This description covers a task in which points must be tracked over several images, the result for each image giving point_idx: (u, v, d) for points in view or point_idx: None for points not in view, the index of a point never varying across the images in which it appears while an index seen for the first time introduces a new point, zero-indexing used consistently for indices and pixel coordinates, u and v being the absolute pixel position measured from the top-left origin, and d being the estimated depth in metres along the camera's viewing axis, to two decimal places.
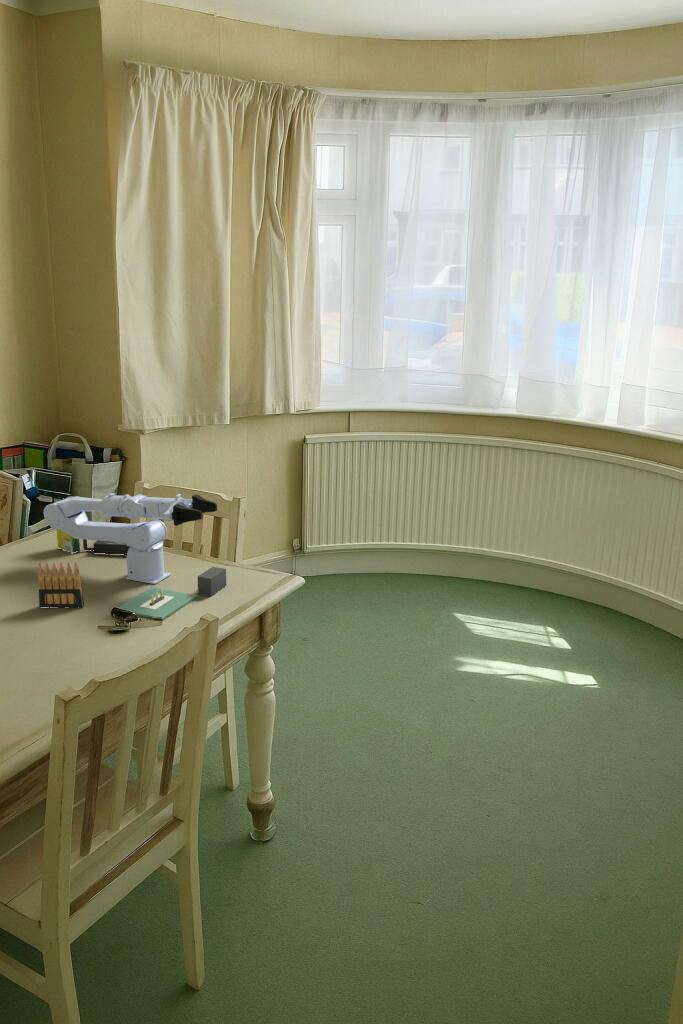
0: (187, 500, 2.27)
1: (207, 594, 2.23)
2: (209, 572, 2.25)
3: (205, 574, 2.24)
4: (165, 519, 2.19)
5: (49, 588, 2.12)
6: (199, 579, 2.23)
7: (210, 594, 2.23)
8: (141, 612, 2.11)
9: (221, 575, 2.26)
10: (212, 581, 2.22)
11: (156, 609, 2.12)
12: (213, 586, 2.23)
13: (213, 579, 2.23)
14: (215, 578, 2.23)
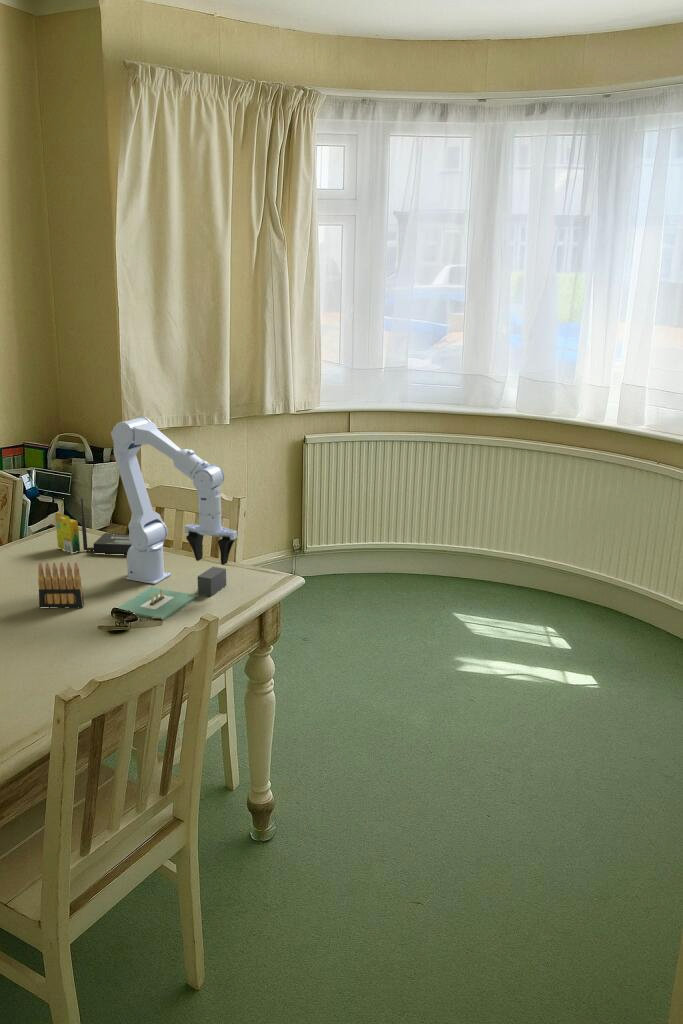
0: None
1: (207, 594, 2.23)
2: (209, 572, 2.25)
3: (205, 574, 2.24)
4: None
5: (49, 588, 2.12)
6: (199, 579, 2.23)
7: (210, 594, 2.23)
8: (141, 612, 2.11)
9: (221, 575, 2.26)
10: (212, 581, 2.22)
11: (156, 609, 2.12)
12: (213, 586, 2.23)
13: (213, 579, 2.23)
14: (215, 578, 2.23)
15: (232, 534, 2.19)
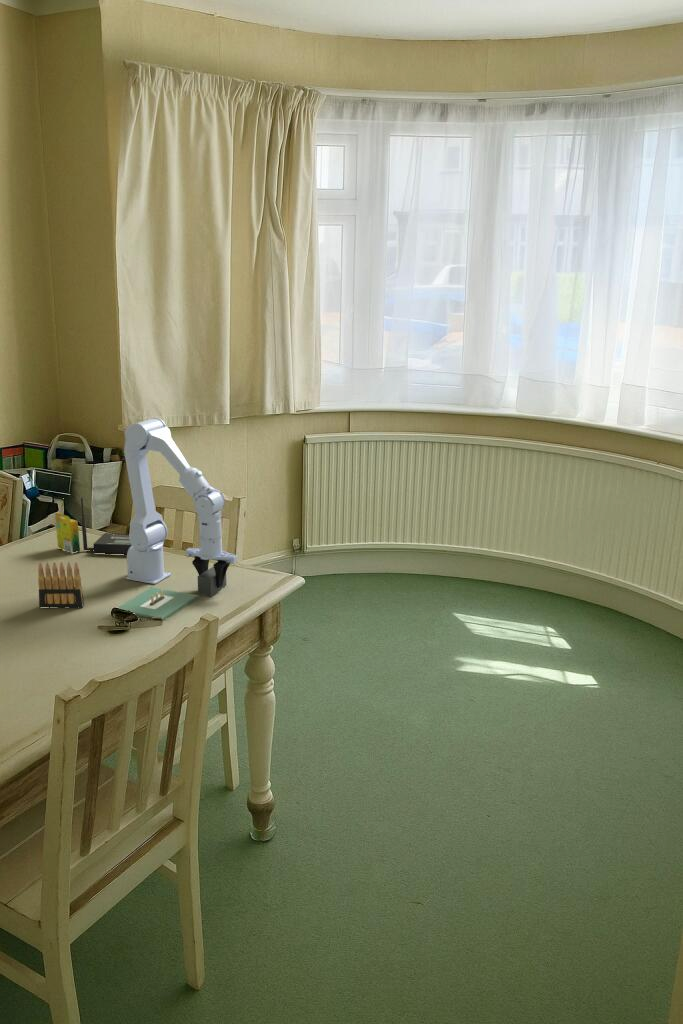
0: None
1: (207, 594, 2.23)
2: (209, 572, 2.25)
3: (205, 574, 2.24)
4: None
5: (49, 588, 2.12)
6: (199, 579, 2.23)
7: (210, 594, 2.23)
8: (141, 612, 2.11)
9: None
10: (212, 581, 2.22)
11: (156, 609, 2.12)
12: (213, 586, 2.23)
13: (213, 579, 2.23)
14: (215, 578, 2.23)
15: (233, 558, 2.21)
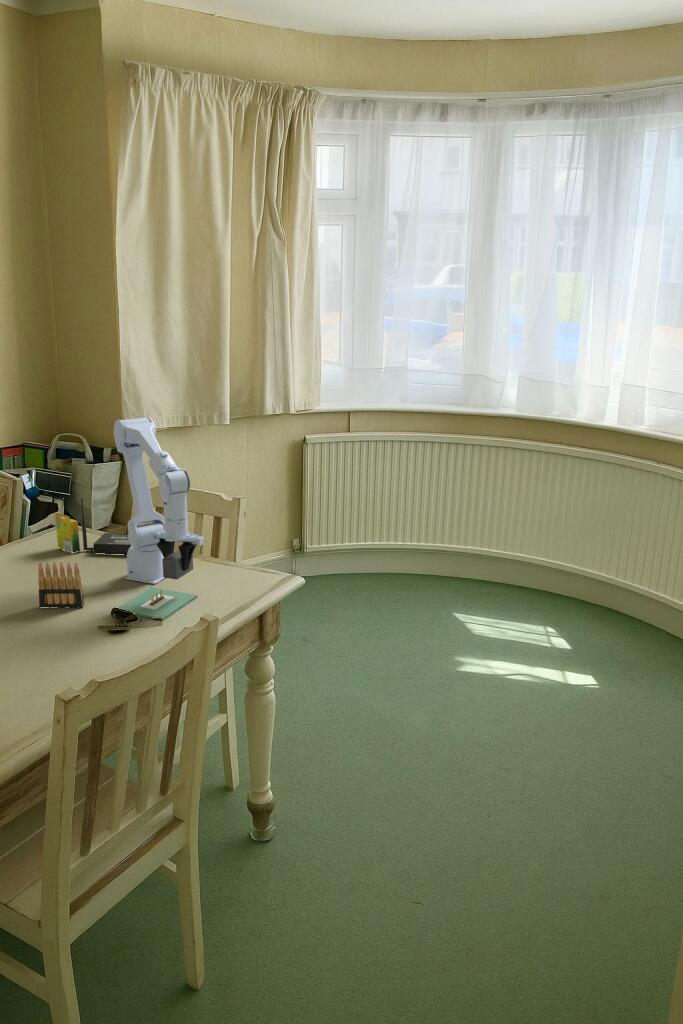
0: None
1: (172, 577, 2.15)
2: (175, 555, 2.17)
3: (170, 556, 2.16)
4: None
5: (49, 588, 2.12)
6: (164, 562, 2.15)
7: (175, 577, 2.15)
8: (141, 612, 2.11)
9: None
10: (177, 564, 2.14)
11: (156, 609, 2.12)
12: (179, 569, 2.15)
13: (179, 562, 2.15)
14: (181, 561, 2.16)
15: (198, 540, 2.13)
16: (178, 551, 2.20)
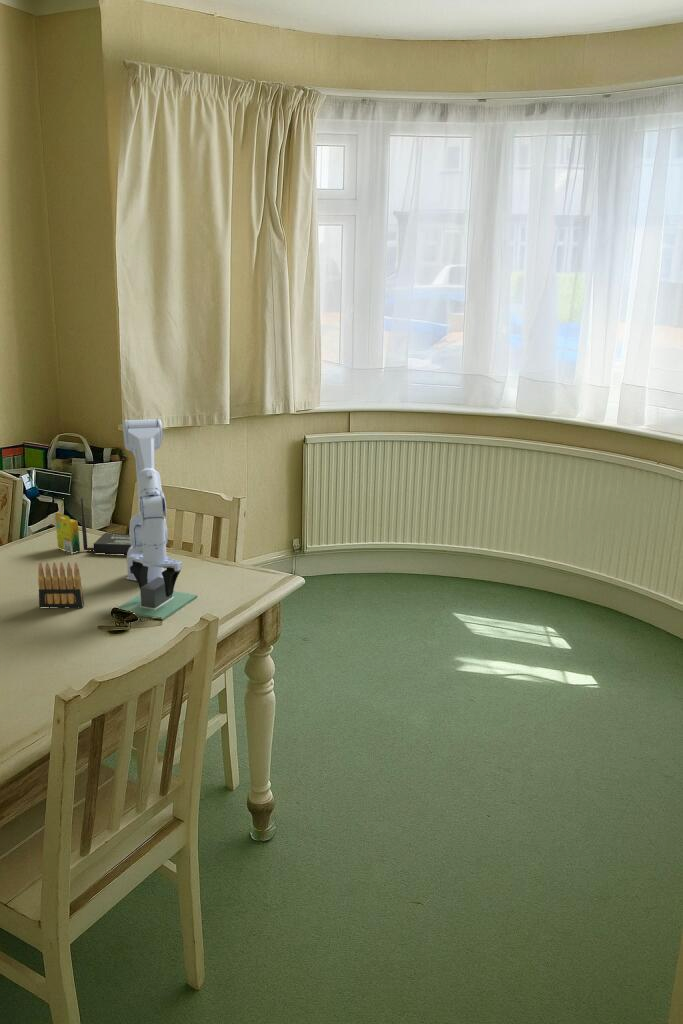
0: None
1: (150, 606, 2.13)
2: (153, 583, 2.15)
3: (149, 585, 2.14)
4: None
5: (49, 588, 2.12)
6: (142, 590, 2.13)
7: (154, 606, 2.13)
8: (141, 612, 2.11)
9: None
10: (156, 593, 2.12)
11: (156, 609, 2.12)
12: (157, 598, 2.13)
13: (157, 591, 2.13)
14: (159, 589, 2.14)
15: (176, 565, 2.10)
16: (157, 579, 2.18)
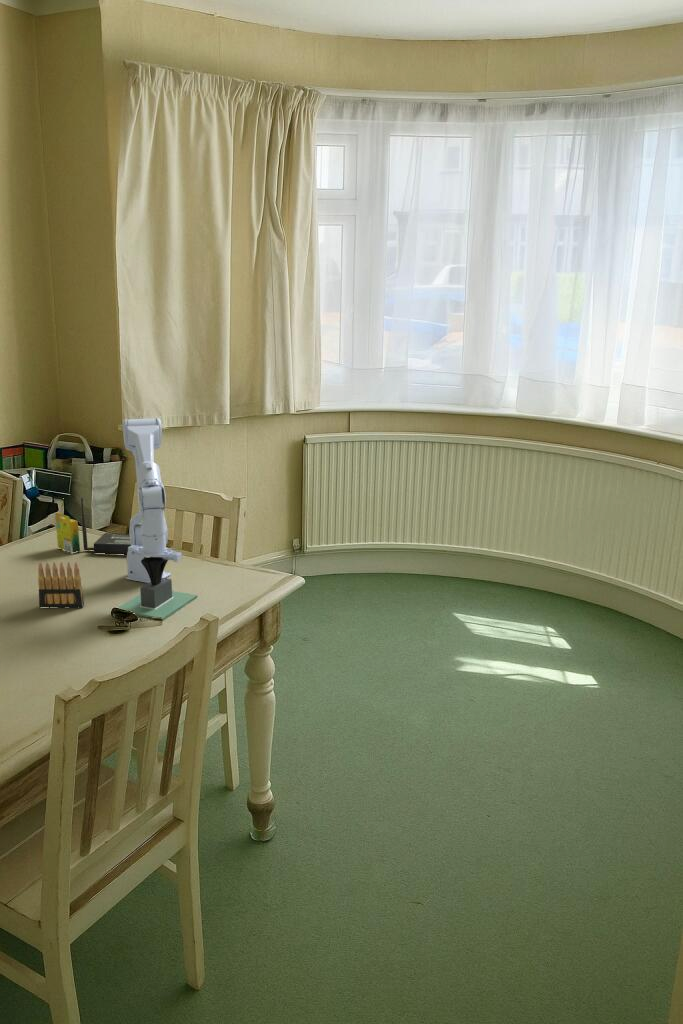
0: None
1: (150, 606, 2.13)
2: None
3: (149, 585, 2.14)
4: None
5: (49, 588, 2.12)
6: (142, 590, 2.13)
7: (154, 606, 2.13)
8: (141, 612, 2.11)
9: (166, 586, 2.17)
10: (156, 593, 2.12)
11: (156, 609, 2.12)
12: (157, 598, 2.13)
13: (157, 591, 2.13)
14: (159, 589, 2.14)
15: (176, 556, 2.10)
16: None
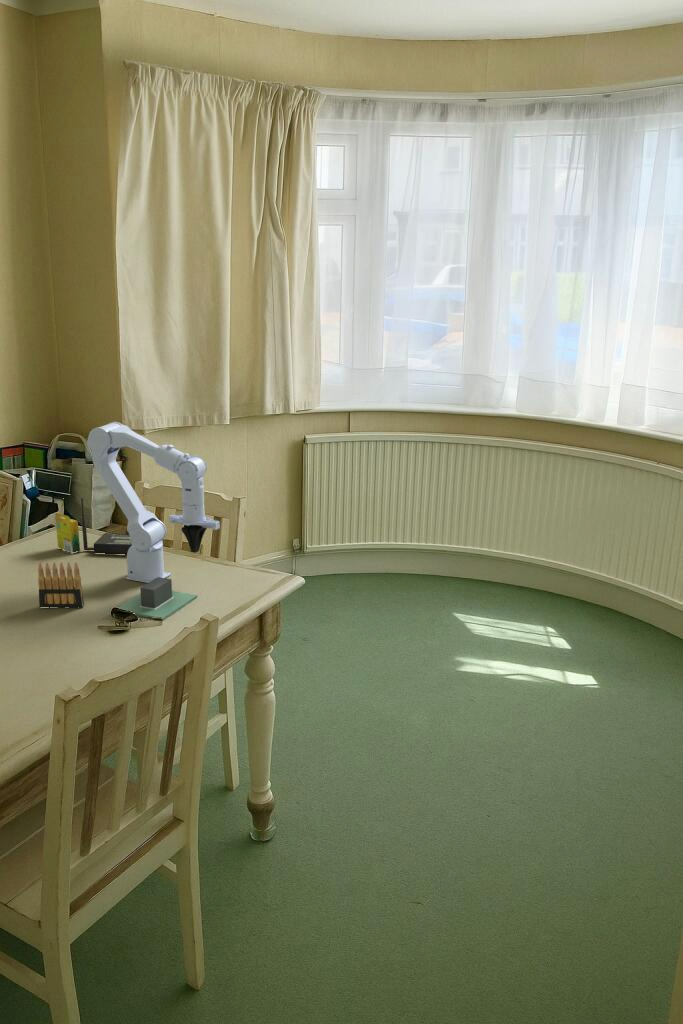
0: None
1: (150, 606, 2.13)
2: (153, 583, 2.15)
3: (149, 585, 2.14)
4: None
5: (49, 588, 2.12)
6: (142, 590, 2.13)
7: (154, 606, 2.13)
8: (141, 612, 2.11)
9: (166, 586, 2.17)
10: (156, 593, 2.12)
11: (156, 609, 2.12)
12: (157, 598, 2.13)
13: (157, 591, 2.13)
14: (159, 589, 2.14)
15: (215, 524, 2.23)
16: (157, 579, 2.18)
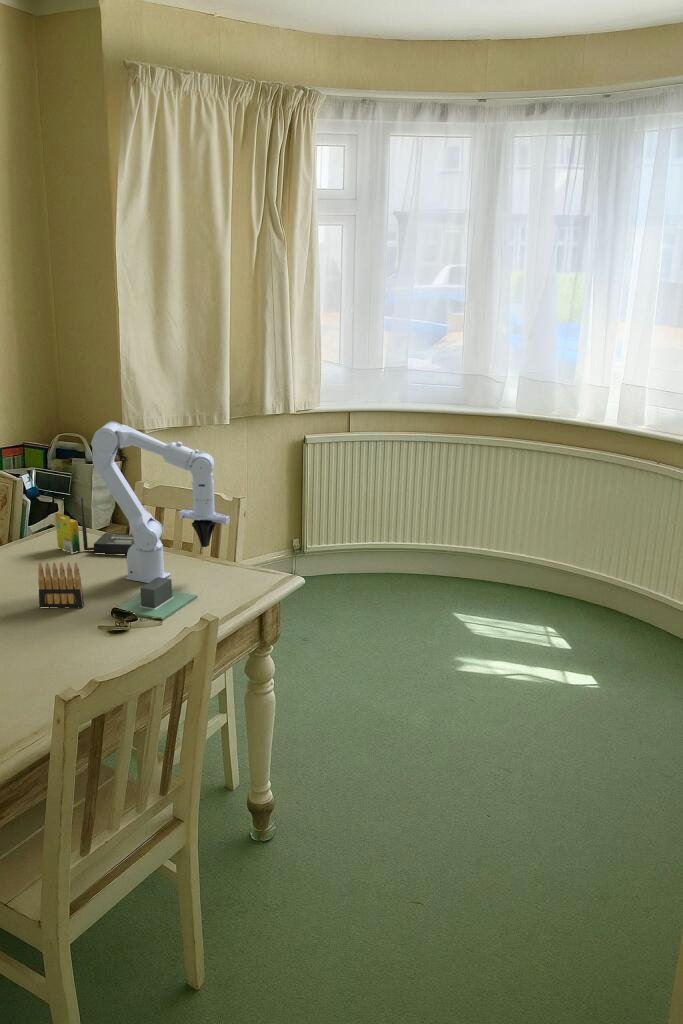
0: None
1: (150, 606, 2.13)
2: (153, 583, 2.15)
3: (149, 585, 2.14)
4: None
5: (49, 588, 2.12)
6: (142, 590, 2.13)
7: (154, 606, 2.13)
8: (141, 612, 2.11)
9: (166, 586, 2.17)
10: (156, 593, 2.12)
11: (156, 609, 2.12)
12: (157, 598, 2.13)
13: (157, 591, 2.13)
14: (159, 589, 2.14)
15: (225, 519, 2.27)
16: (157, 579, 2.18)
